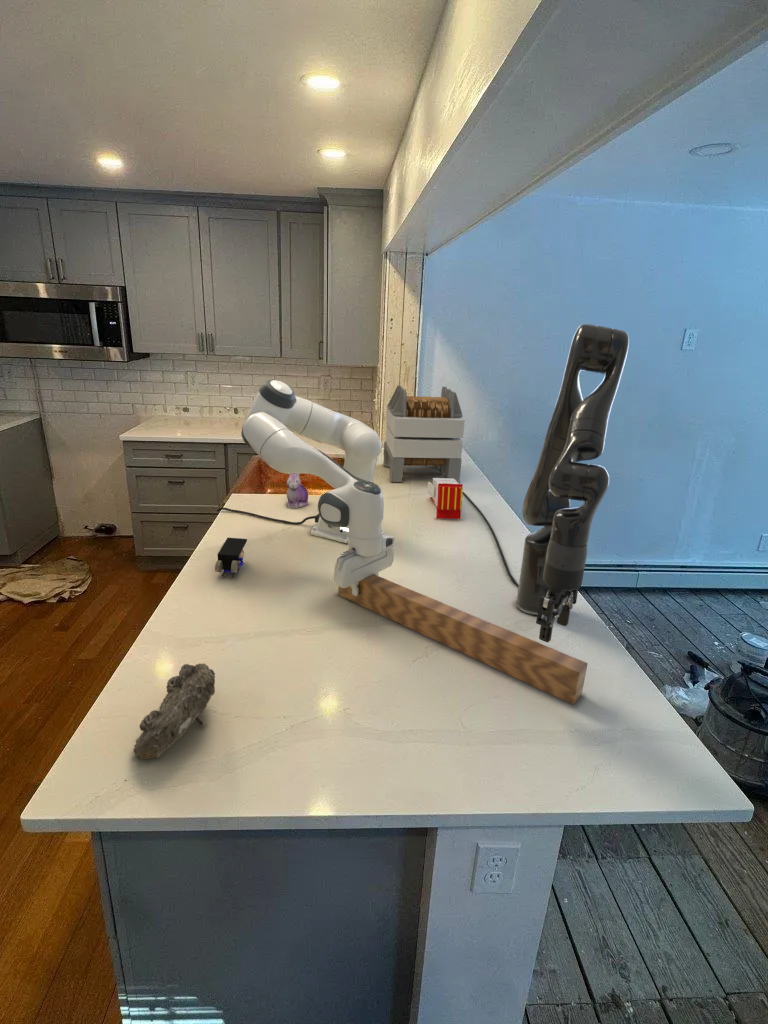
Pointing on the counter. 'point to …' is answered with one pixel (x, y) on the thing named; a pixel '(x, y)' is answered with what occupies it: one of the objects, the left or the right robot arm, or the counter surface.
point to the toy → (446, 497)
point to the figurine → (296, 492)
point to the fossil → (176, 710)
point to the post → (474, 637)
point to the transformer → (423, 433)
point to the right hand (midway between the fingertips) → (553, 632)
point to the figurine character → (230, 556)
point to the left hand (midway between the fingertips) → (363, 590)
